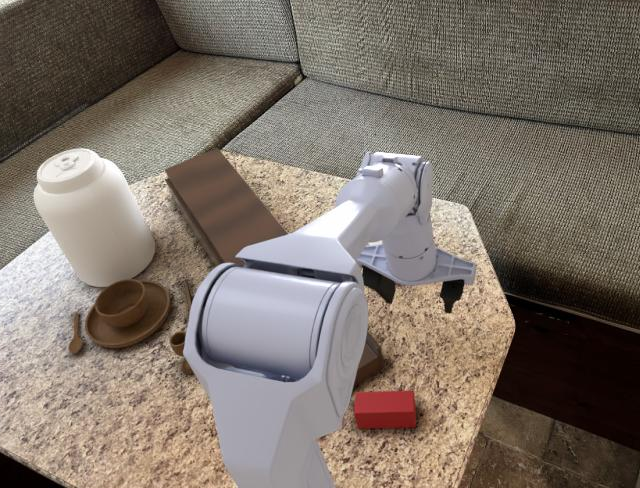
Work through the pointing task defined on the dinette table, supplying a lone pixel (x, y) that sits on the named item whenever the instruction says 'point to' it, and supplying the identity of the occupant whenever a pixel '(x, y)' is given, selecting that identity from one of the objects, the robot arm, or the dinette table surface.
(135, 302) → the place setting
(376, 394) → the red rectangular block
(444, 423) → the dinette table surface
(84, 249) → the can
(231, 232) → the long wooden plank
